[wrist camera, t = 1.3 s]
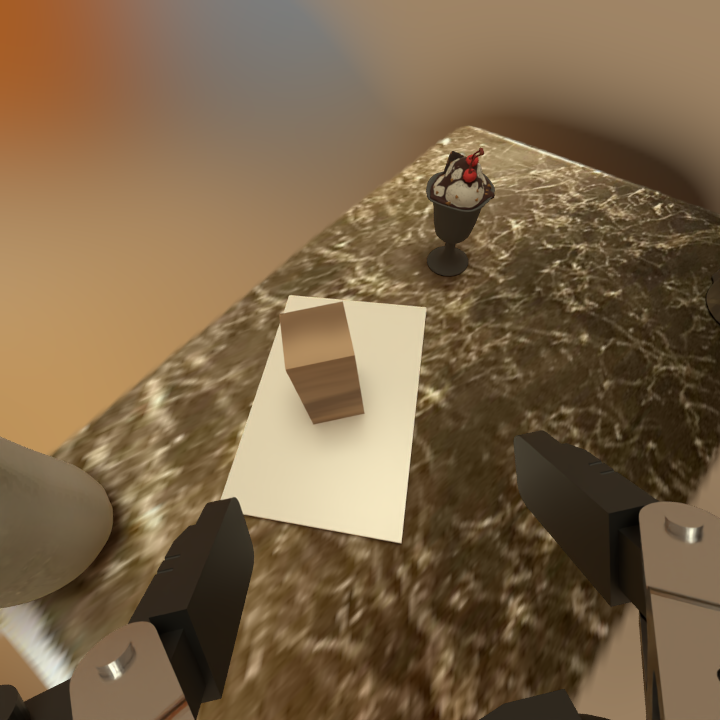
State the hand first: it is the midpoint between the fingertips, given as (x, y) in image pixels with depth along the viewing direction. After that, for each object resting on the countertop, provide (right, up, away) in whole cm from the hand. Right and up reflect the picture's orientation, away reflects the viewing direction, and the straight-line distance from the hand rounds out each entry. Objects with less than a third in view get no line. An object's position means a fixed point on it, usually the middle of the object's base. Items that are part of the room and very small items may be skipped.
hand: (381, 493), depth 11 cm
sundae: (+10, +16, +36) cm, 40 cm away
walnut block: (-3, 0, +27) cm, 27 cm away
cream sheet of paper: (-3, 0, +27) cm, 27 cm away
